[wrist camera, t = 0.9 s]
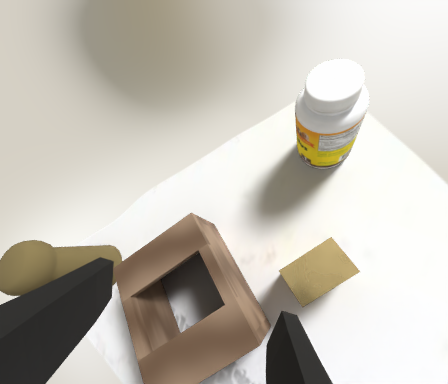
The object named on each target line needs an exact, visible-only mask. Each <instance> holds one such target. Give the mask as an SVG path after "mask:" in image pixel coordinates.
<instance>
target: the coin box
mask: <svg viewBox="0 0 448 384" xmlns="http://www.w3.org/2000/svg"><path fill="white" fill-rule="evenodd" d="M199 252H200V254H201V257H202V259H203V261H204V263H205V265H206V267H207V269H208V271H209V273H210V275H211V277H212V279H213V281H214V283H215V285H216V287H217V289H218V291H219V294H220V296H221V298H222V300H223V302H224V304H225V305H224V306H222V307H221V308H219V309H218V310H216V311H215V312H213V313H211V314H210V315H208V316H207V317H205V318H204V319H202V320H201V321H199V322H198V323H196V324H194V325H193V326H191V327H190V328H188V329H187V330H185V331H184V332H182V333H180V330H179V328H178V325H177V322H176V320H175V317H174V314H173V312H172V309H171V306H170V303H169V301H168V298H167V295H166V293H165V290H164V287H163V284H162V282H161V278H163V277H164V276H166V275H167V274H169V273H170V272H172V271H173V270H174V269H176V268H177V267H179V266H180V265H182V264H183V263H185V262H186V261H188V260H189V259H191V258H192V257H193V256H195V255H196V254H198V253H199ZM113 271H114V275H115V278H116V282H117V286H118V290H119V293H120V297H121V301H122V304H123V308H124V312H125V316H126V319H127V323H128V327H129V331H130V334H131V338H132V342H133V345H134V349H135V353H136V357H137V360H138V364H139V368H140V372H141V375H142V379H143V383H144V384H198V383H200V382H201V381H203V380H205V379H206V378H208V377H209V376H211V375H213V374H214V373H216V372H218V371H219V370H221V369H222V368H224V367H226V366H227V365H229V364H231V363H232V362H234V361H236V360H237V359H239V358H240V357H242V356H244V355H245V354H247V353H249V352H250V351H252V350H254V349H255V348H257V347H258V346H260V344H261V343H262V341H263V339H264V337H265V336H266V334H267V332H268V330H269V329H270V327H271V325H270V323H269V321H268V320H267V318H266V316H265V314H264V312H263V311H262V309H261V307H260V305H259V303H258V302H257V300H256V298H255V296H254V295H253V293H252V291H251V289H250V287H249V286H248V284H247V282H246V280H245V278H244V277H243V275H242V273H241V271H240V270H239V268H238V266H237V264H236V262H235V261H234V259H233V257H232V255H231V253H230V252H229V250H228V248H227V246H226V245H225V243H224V241H223V239H222V237H221V236H220V234H219V232H218V230H217V228H216V227H215V225H214V224H213V223H211V222H209V221H207V220H205V219H203V218H201V217H199V216H197V215H195V214H193V213H190V214H189V215H187V216H186V217H185V218H183V219H182V220H180V221H179V222H178V223H176V224H175V225H173V226H172V227H171V228H169V229H168V230H166V231H165V232H163V233H162V234H161V235H159V236H158V237H156V238H155V239H154V240H152V241H151V242H149V243H148V244H147V245H145V246H144V247H142V248H141V249H140V250H138V251H137V252H135V253H134V254H133V255H131V256H130V257H128V258H127V259H125V260H124V261H123V262H121V263H120V264H118V265H117V266H116V267H114V268H113Z"/></svg>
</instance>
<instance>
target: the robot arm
mask: <svg viewBox="0 0 448 384" xmlns="http://www.w3.org/2000/svg"><path fill="white" fill-rule="evenodd" d="M113 266H114V261H112V260H108V259H105V258H102V257H99V258H97V259H95V260H93V261H91V262H89V263H87V264H85V265H83V266H81V267H79V268H77V269H75V270H73V271H71V272H69V273H67V274H65V275H63V276H61V277H59V278H57V279H55V280H53V281H51V282H49V283H47V284H45V285H43V286H41V287H39V288H37V289H34V290H32V291H30V292H28V293H26V294H23V295H21V296H19V297H17V298H15V299H12V300H10V301H8V302H6V303H4V304H1V305H0V384H46V382H47V381H48V380H49V379H50V377H51V376H52V375H53V374H54V373H55V371H56V370H57V369H58V368H59V366H60V365H61V364H62V363H63V362H64V360H65V359H66V358H67V357H68V355H69V354H70V353H71V352H72V351H73V349H74V348H75V347H76V346H77V344H78V343H79V342H80V341H81V340H82V338H83V337H84V336H85V335H86V333H87V332H88V331H89V330H90V328H91V327H92V326H93V325H94V323H95V322H96V321H97V319H98V318H99V316H100V315H101V313H102V312H103V310H104V309H105V307H106V305H107V304H108V302H109V301H110V299H111V298H112V283H113ZM266 384H333V383H332V382H331V380H330V378H329V376H328V374H327V373H326V371H325V369H324V367H323V365H322V363H321V361H320V360H319V358H318V356H317V354H316V352H315V350H314V348H313V346H312V344H311V342H310V340H309V338H308V336H307V334H306V332H305V330H304V328H303V326H302V324H301V322H300V320H299V318H298V317H297V315H294V314H291V313H287V312H284V311H282V312H281V314H280V316H279V318H278V321H277V323H276V325H275V327H274V330H273V332H272V334H271V336H270V339H269V341H268V343H267V350H266Z"/></svg>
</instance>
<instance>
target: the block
mask: <svg viewBox="0 0 448 384" xmlns="http://www.w3.org/2000/svg"><path fill="white" fill-rule="evenodd" d="M279 272H280V273H281V275H282V277H283V278H284V280H285V281H286V283H287V284H288V286H289V287H290V289H291V290H292V292H293V293H294V295H295V297H296V298H297V300H298V301H299V303H300V304H301V306H302V307H304V306H305V305H307V304H309V303H310V302H312V301H314V300H315V299H317V298H318V297H320V296H322V295H323V294H325V293H326V292H328V291H330V290H331V289H333V288H335V287H336V286H338V285H339V284H341V283H343V282H344V281H346V280H347V279H349V278H351V277H352V276H354V275H356V274H357V273H359V272H360V271H359V270H358V268H357V267H356V266H355V265H354V264H353V262H352V261H351V260H350V259H349V258H348V256H347V255H346V254H345V253H344V252H343V251H342V249H341V248H340V247H339V246H338V245H337V243H336V242H335V241H334V240H333V239H332V237H331V238H329V239H327V240H326V241H324V242H323V243H321V244H320V245H318V246H317V247H315V248H314V249H312V250H310V251H309V252H307V253H306V254H304V255H303V256H301V257H300V258H298V259H297V260H295V261H293V262H292V263H290V264H289V265H287V266H286V267H284V268H283V269H281V270H279Z"/></svg>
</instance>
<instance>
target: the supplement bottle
mask: <svg viewBox="0 0 448 384" xmlns="http://www.w3.org/2000/svg"><path fill="white" fill-rule="evenodd" d="M364 79H365V75H364V71H363V69H362V68H361V66H359V65H358V64H357V63H355V62H353V61H351V60H346V59H335V60H329V61H326V62H324V63H321V64H320V65H318V66H316V67H315V68H314V69H313V70H312V71H311V72H310V73H309V75H308V76H307V78H306V81H305V87H304V88H303V90H302V91H301V92H300V94H299V95H298V98H297V100H296V105H295V117H296V134H297V149H298V153H299V156H300V158H301V159H302V160H303V161H304V162H305V163H306V164H308V165H309V166H312V167H314V168H320V169H325V168H331V167H334V166H337V165H338V164H340V163H342V162H343V161H344V160H345V159H346V158H347V157H348V155H349V153H350V151H351V148H352V146H353V144H354V141H355V139H356V136H357V134H358V131H359V129H360V126H361V124H362V121H363V119H364V116H365V114H366V111H367V108H368V105H369V94H368V91H367V89H366V87H365V86H364Z"/></svg>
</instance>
